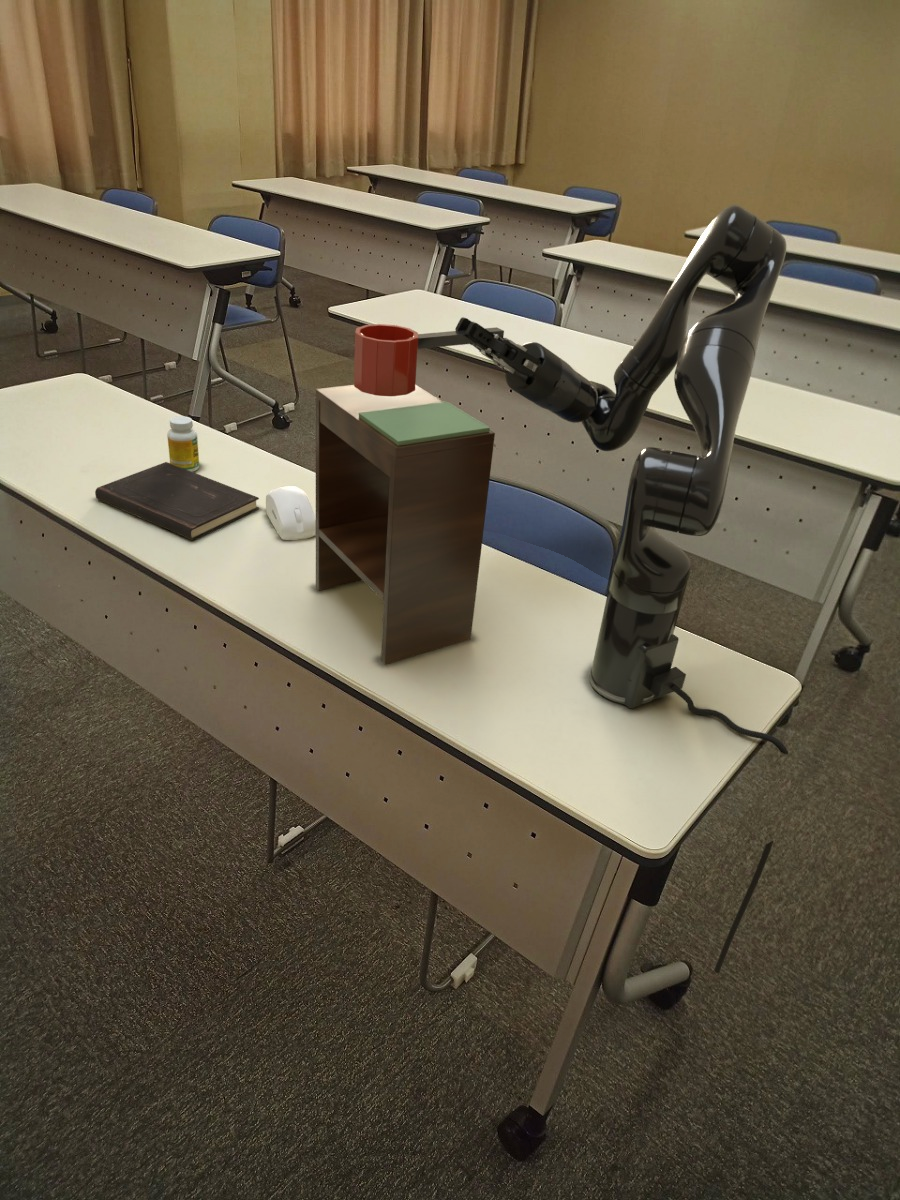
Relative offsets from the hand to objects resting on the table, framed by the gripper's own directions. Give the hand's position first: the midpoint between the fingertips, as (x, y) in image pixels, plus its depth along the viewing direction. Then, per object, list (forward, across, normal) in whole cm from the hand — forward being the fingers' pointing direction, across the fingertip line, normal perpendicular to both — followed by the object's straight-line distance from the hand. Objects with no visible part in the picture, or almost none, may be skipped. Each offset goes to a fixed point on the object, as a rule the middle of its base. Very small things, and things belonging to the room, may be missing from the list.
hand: (464, 326), depth 114 cm
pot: (+1, 0, +8) cm, 9 cm away
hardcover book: (+6, -40, +49) cm, 64 cm away
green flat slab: (+7, +11, +13) cm, 19 cm away
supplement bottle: (+1, -55, +46) cm, 72 cm away
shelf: (-9, +6, +40) cm, 42 cm away
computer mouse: (-7, -26, +42) cm, 50 cm away
